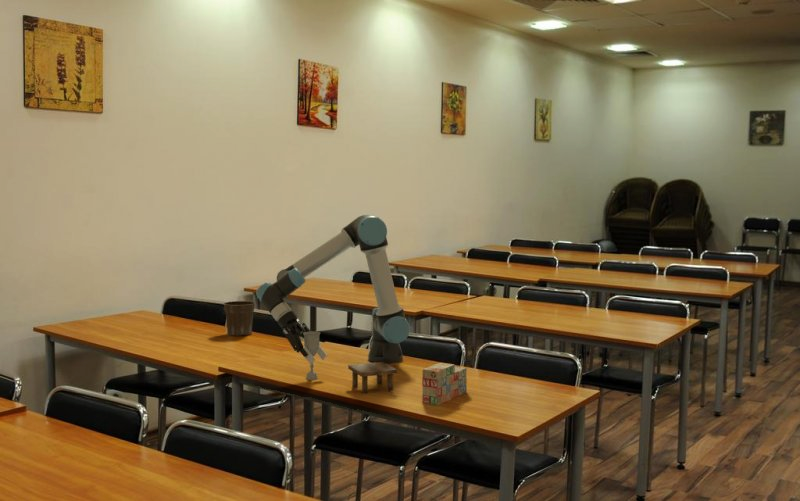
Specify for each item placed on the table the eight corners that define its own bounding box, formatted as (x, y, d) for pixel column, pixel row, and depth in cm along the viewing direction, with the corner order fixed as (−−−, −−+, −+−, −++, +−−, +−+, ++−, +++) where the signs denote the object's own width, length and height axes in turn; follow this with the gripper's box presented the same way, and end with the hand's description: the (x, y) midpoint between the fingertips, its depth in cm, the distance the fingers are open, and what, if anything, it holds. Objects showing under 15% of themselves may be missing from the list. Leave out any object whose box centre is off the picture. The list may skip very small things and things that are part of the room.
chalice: (317, 380, 311) (317, 335, 310) (300, 379, 313) (300, 334, 311) (322, 376, 319) (322, 331, 317) (306, 375, 320) (306, 331, 319)
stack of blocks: (451, 390, 299) (452, 357, 298) (466, 392, 295) (467, 359, 294) (421, 403, 281) (422, 368, 280) (437, 405, 277) (437, 370, 276)
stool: (382, 382, 310) (382, 362, 309) (396, 390, 297) (397, 369, 296) (348, 385, 304) (348, 365, 303) (361, 394, 291) (361, 372, 290)
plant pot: (230, 330, 418) (229, 300, 417) (259, 331, 416) (259, 301, 415) (218, 336, 402) (218, 304, 401) (249, 337, 400) (249, 305, 399)
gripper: (293, 318, 330) (327, 360, 324) (263, 326, 311) (298, 371, 306) (304, 306, 327) (338, 349, 322) (274, 313, 309) (310, 358, 303)
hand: (319, 359), depth 314 cm, fingers open, 8 cm apart
